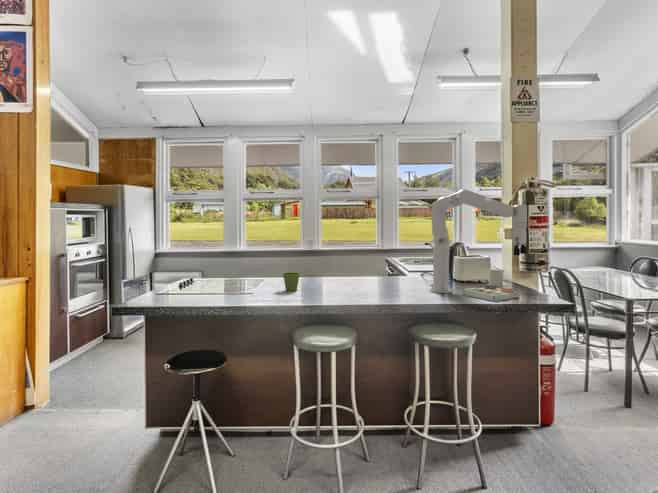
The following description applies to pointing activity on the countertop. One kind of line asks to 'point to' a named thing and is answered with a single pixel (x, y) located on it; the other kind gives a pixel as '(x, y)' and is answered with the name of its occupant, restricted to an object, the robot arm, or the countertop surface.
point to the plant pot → (291, 280)
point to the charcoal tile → (490, 286)
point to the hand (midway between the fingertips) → (520, 254)
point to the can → (496, 277)
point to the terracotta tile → (507, 289)
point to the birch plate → (497, 292)
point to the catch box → (483, 295)
